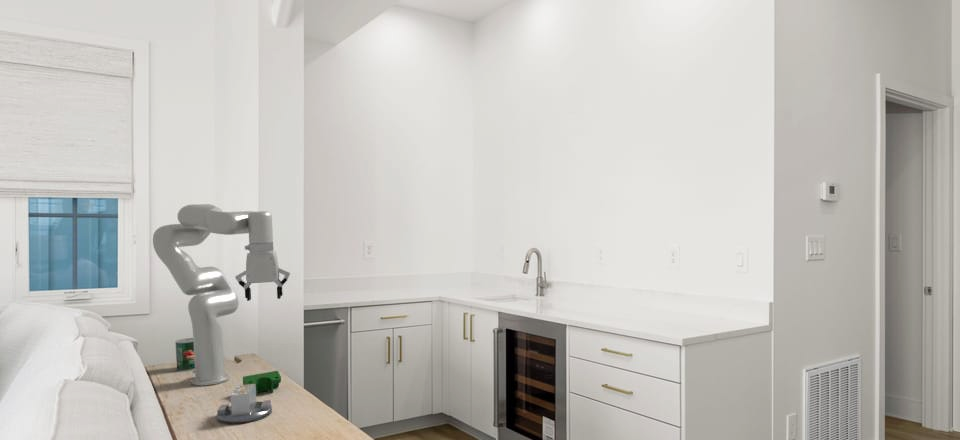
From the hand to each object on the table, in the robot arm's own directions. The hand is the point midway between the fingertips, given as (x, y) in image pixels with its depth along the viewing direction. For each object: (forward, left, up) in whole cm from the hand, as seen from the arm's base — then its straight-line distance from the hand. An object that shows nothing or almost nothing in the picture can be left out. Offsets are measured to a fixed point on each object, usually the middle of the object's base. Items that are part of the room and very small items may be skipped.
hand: (264, 299), depth 205 cm
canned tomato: (-53, +2, -31) cm, 61 cm away
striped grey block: (+16, -20, -29) cm, 38 cm away
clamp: (+1, -3, -31) cm, 31 cm away
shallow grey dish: (+16, -20, -30) cm, 40 cm away
